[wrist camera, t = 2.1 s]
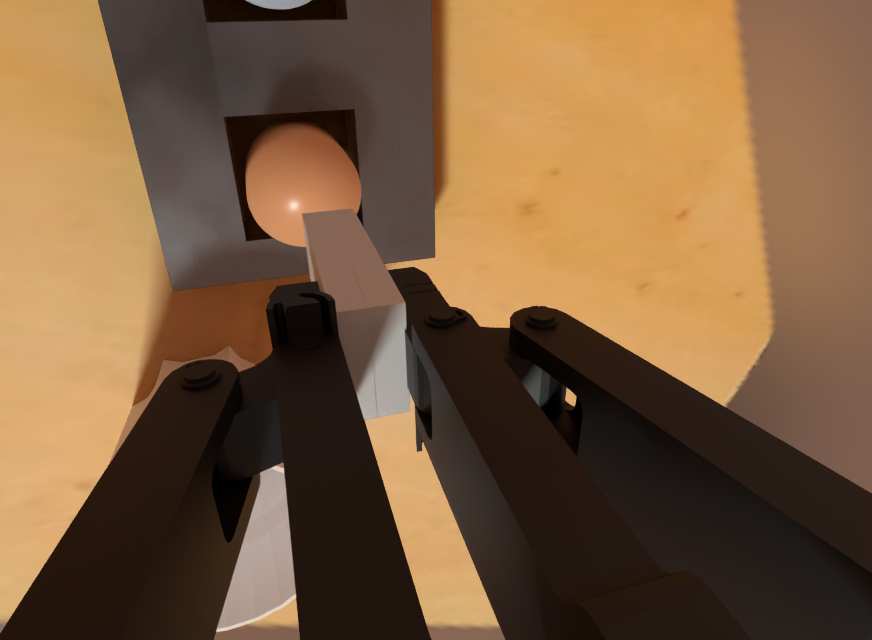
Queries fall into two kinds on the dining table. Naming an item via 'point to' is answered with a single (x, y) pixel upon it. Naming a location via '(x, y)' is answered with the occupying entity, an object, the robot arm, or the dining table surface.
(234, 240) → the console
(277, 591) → the cup
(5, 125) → the dining table surface
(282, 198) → the button orange
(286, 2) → the button slate
